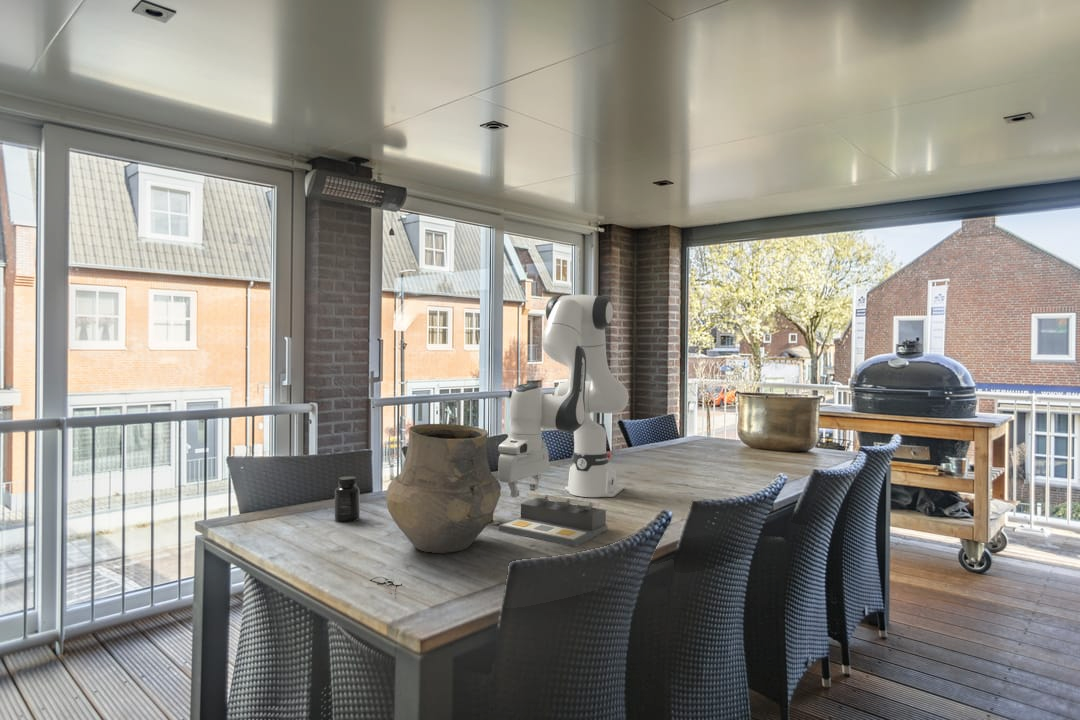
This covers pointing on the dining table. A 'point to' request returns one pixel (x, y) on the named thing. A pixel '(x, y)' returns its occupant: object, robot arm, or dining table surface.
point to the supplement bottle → (347, 500)
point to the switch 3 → (584, 504)
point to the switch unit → (557, 523)
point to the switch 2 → (561, 500)
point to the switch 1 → (540, 497)
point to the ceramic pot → (443, 488)
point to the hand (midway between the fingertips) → (524, 493)
